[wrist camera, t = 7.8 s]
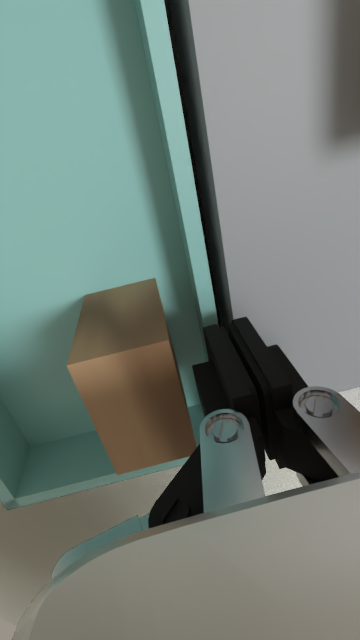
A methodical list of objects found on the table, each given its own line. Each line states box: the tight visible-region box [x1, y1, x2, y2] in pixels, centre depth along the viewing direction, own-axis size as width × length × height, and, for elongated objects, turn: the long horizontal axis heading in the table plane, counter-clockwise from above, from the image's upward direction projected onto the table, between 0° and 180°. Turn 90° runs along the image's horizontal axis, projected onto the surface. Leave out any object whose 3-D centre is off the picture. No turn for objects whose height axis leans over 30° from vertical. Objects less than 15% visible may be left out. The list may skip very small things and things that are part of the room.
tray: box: [0, 0, 219, 510], centre depth 12 cm, size 11×20×4 cm, turn 11°
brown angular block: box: [67, 278, 197, 475], centre depth 13 cm, size 5×5×3 cm
